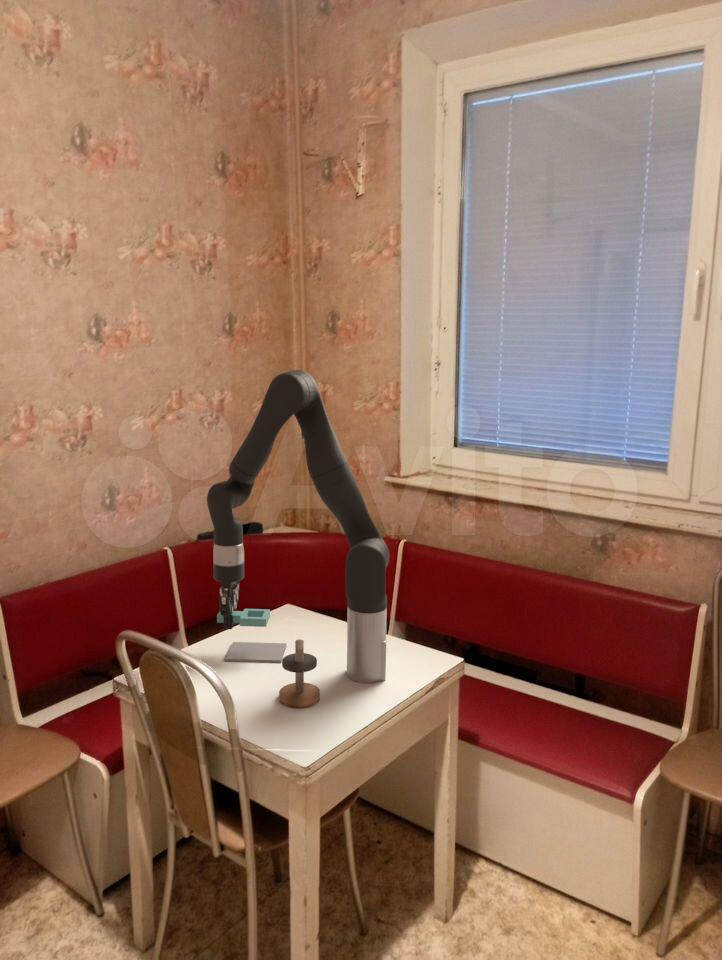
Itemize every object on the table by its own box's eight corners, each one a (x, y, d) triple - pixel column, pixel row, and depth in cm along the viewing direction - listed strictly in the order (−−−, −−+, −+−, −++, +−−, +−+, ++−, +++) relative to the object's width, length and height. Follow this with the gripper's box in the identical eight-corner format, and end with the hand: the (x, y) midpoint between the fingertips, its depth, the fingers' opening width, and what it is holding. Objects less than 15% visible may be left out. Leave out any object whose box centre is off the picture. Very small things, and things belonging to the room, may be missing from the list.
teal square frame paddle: (269, 616, 180) (269, 609, 180) (265, 626, 174) (265, 619, 174) (221, 615, 181) (221, 608, 180) (215, 625, 174) (215, 617, 174)
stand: (321, 689, 161) (321, 633, 158) (318, 709, 152) (318, 650, 150) (282, 688, 161) (281, 632, 159) (276, 707, 152) (275, 649, 150)
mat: (286, 645, 184) (286, 643, 184) (281, 662, 174) (281, 660, 174) (233, 644, 184) (232, 641, 184) (224, 661, 174) (224, 658, 174)
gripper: (238, 569, 168) (239, 637, 171) (249, 552, 181) (249, 615, 185) (206, 568, 168) (208, 637, 171) (220, 551, 181) (221, 615, 185)
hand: (229, 625), depth 178 cm, fingers closed on teal square frame paddle, 3 cm apart
